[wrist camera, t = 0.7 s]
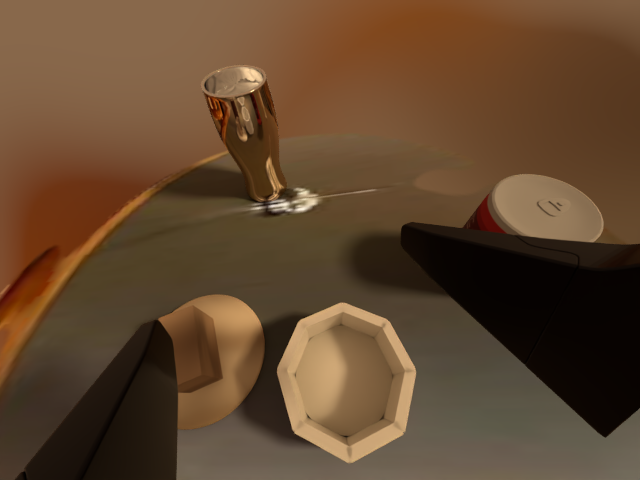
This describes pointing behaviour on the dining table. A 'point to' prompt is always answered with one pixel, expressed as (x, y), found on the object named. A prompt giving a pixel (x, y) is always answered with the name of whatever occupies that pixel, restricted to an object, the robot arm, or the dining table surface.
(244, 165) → the beer glass
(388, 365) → the hollow octagonal cup
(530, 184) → the canned food
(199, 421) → the lid
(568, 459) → the dining table surface
